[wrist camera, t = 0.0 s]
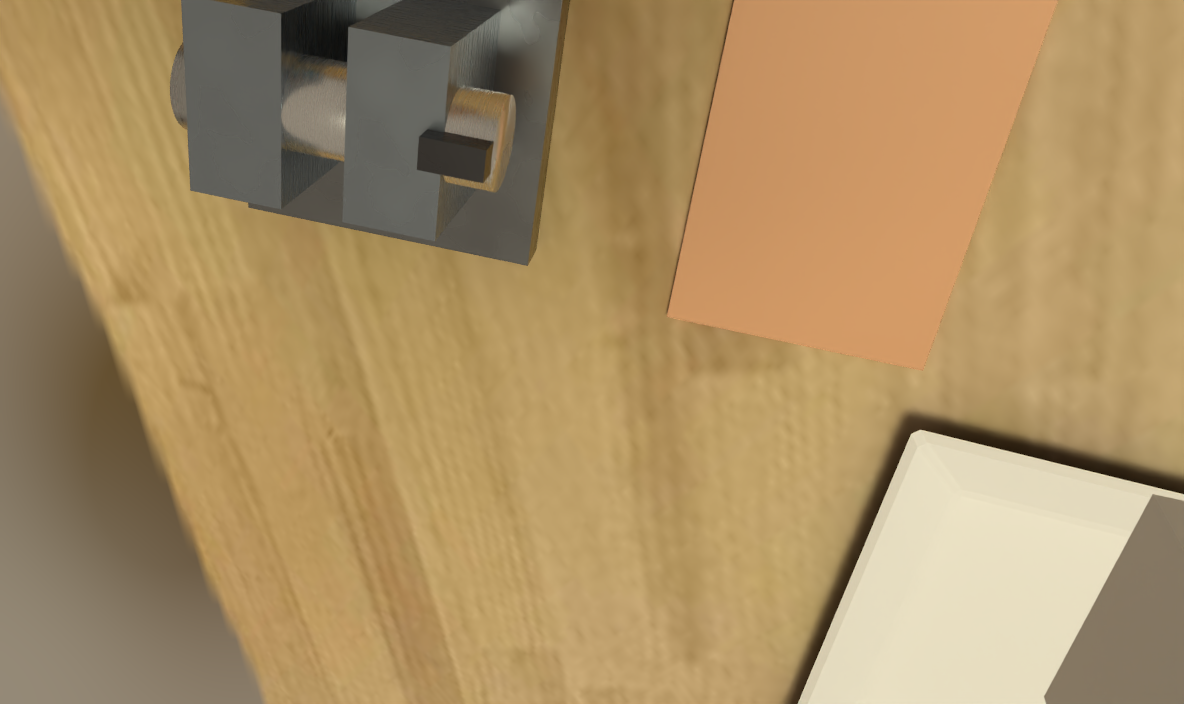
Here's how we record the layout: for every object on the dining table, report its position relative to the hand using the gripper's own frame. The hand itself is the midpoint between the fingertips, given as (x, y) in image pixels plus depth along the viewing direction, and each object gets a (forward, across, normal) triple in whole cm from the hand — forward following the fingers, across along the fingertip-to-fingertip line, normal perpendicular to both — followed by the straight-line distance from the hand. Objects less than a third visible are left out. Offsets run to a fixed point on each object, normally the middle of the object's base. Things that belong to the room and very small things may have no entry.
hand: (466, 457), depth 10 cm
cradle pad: (+27, +7, -4) cm, 28 cm away
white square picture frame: (+28, +21, -23) cm, 41 cm away
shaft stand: (+27, -9, -4) cm, 29 cm away
